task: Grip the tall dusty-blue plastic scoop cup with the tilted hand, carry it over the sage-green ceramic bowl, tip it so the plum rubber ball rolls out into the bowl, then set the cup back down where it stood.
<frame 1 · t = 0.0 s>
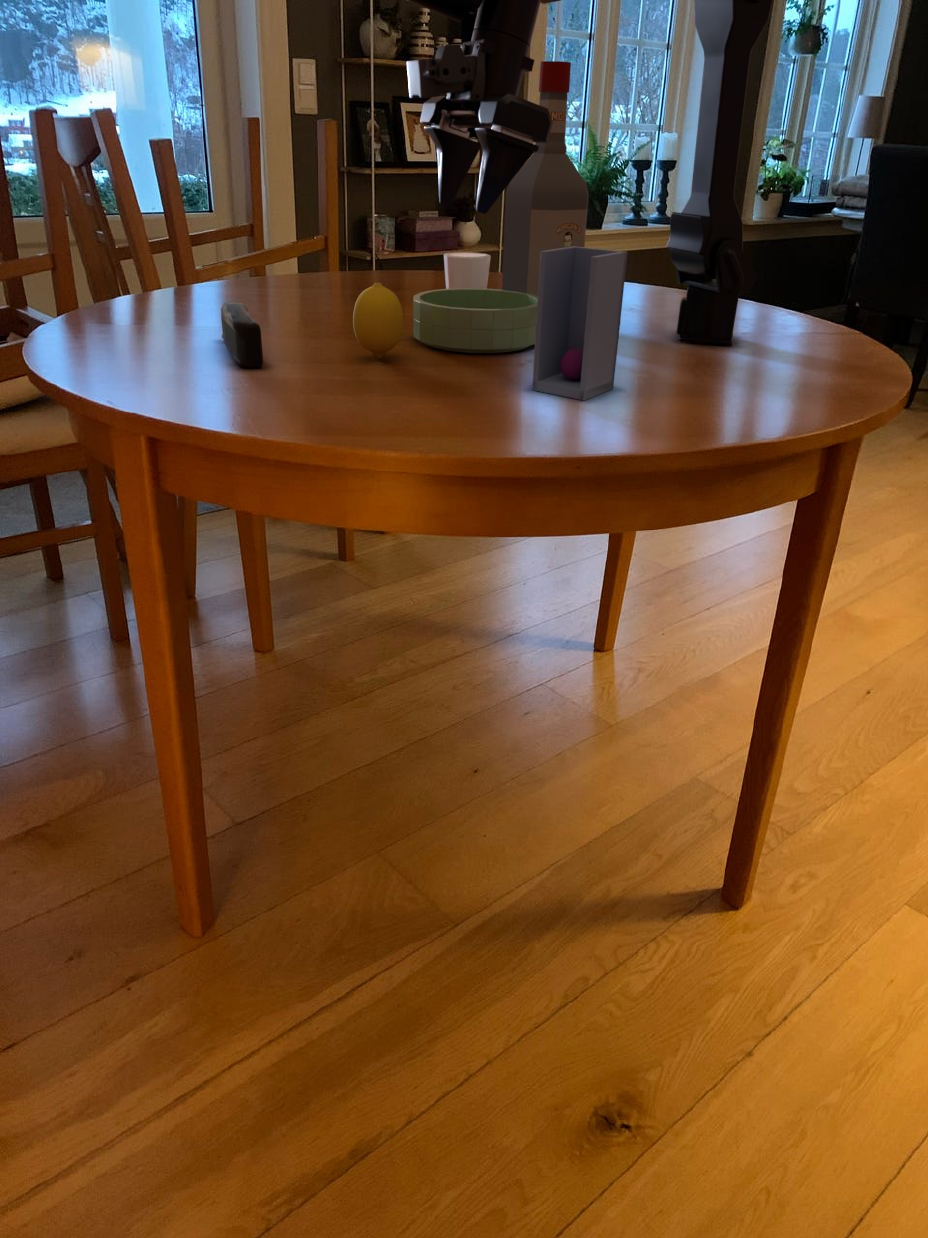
hand: (461, 208, 94), 15 cm above the table, tool pointing down, fingers open, 9 cm apart
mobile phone: (241, 355, 101), on the table
liquor: (539, 325, 121), on the table
bowl: (477, 341, 110), on the table
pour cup: (572, 389, 90), on the table, touching ball
lemon: (379, 359, 101), on the table
white cup: (465, 306, 132), on the table
ball: (575, 364, 89), point 2 cm above the table, touching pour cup
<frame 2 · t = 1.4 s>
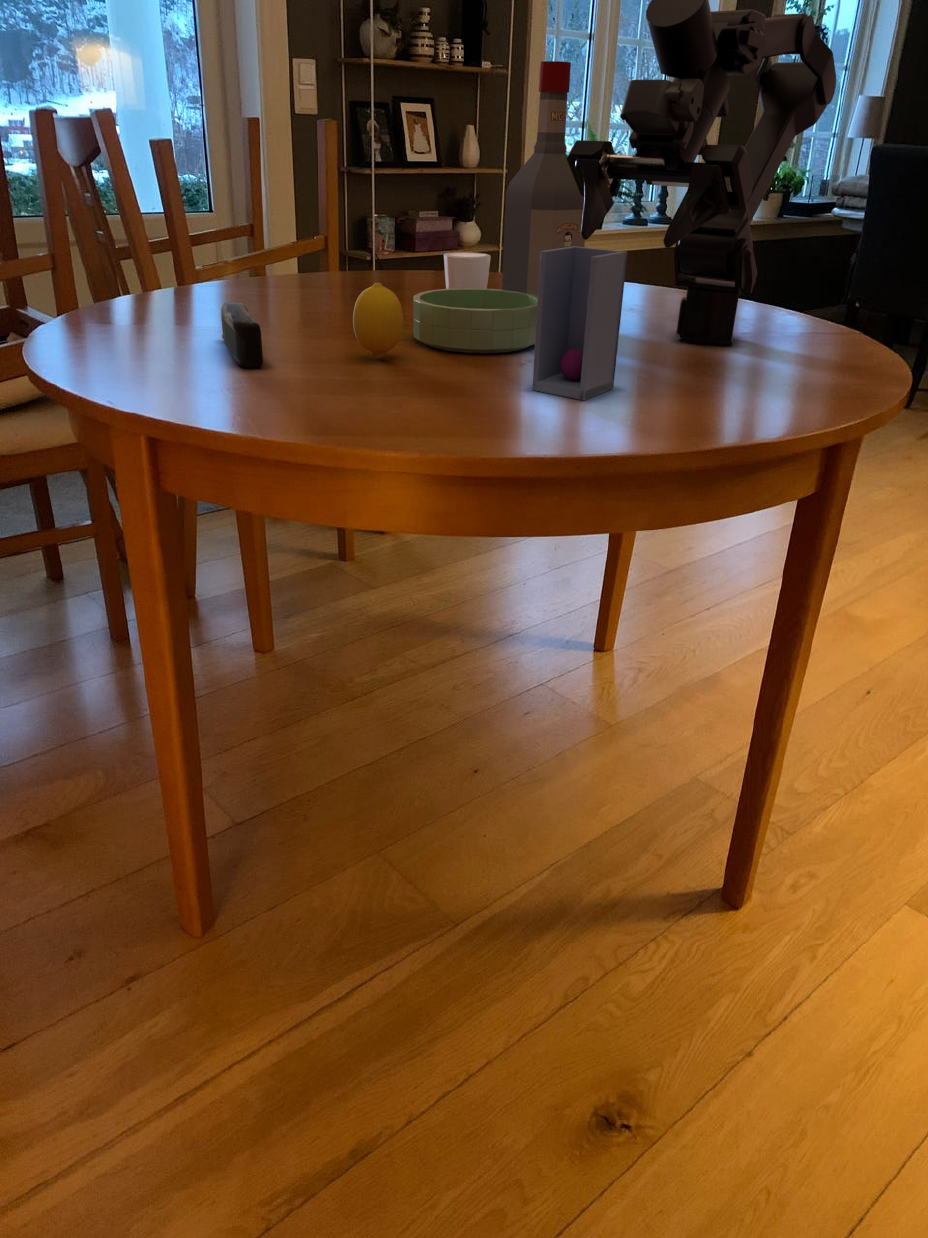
hand: (623, 240, 90), 13 cm above the table, tool tilted 45°, fingers open, 9 cm apart
nothing on the table moved.
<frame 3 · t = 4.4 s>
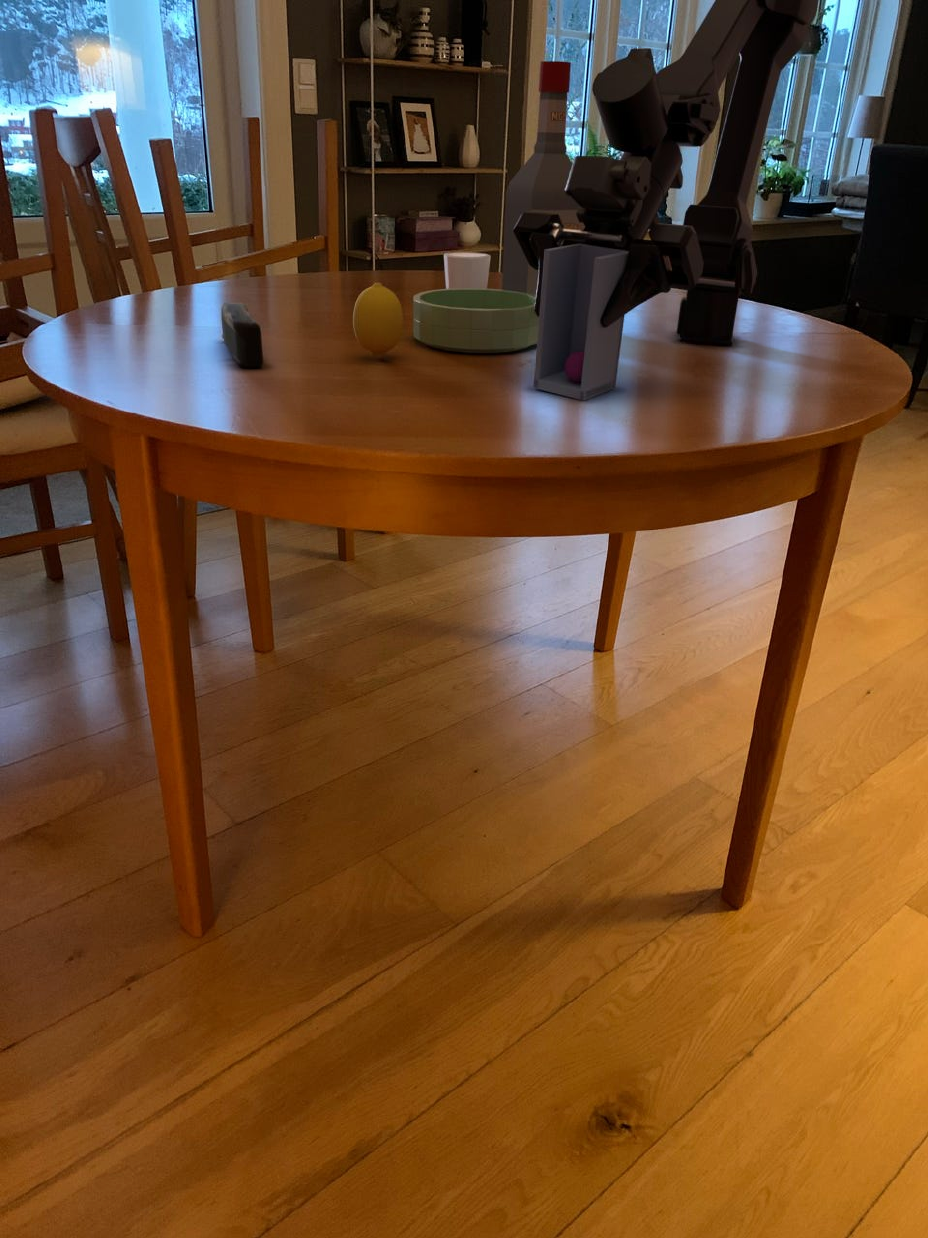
hand: (569, 319, 86), 7 cm above the table, tool tilted 45°, fingers closed on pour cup, 7 cm apart
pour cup: (574, 388, 90), on the table, touching ball, gripper
ball: (580, 366, 88), point 3 cm above the table, tilted 51°, touching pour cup
everything else where it was.
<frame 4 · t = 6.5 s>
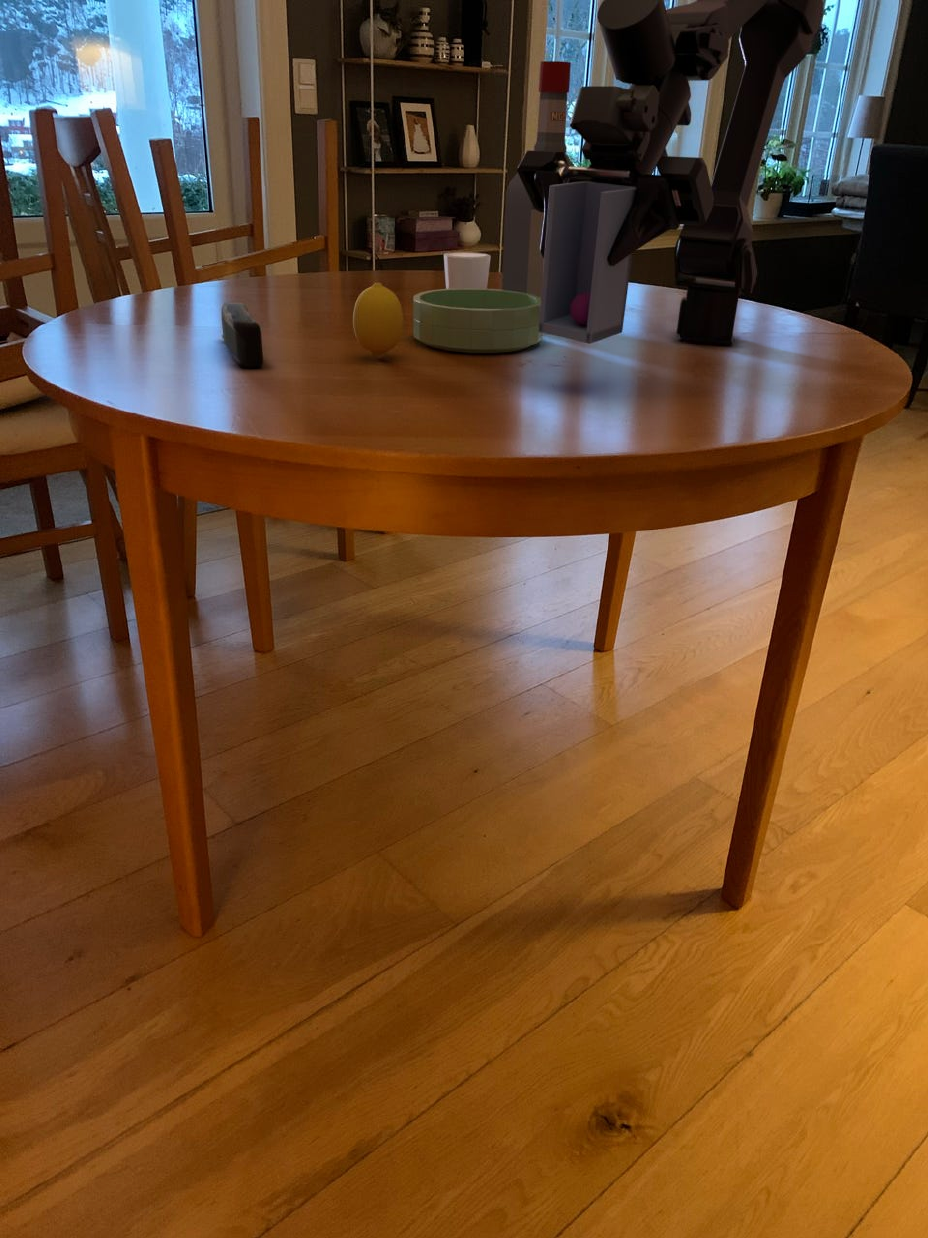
hand: (575, 258, 83), 12 cm above the table, tool tilted 45°, fingers closed on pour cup, 7 cm apart
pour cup: (580, 332, 88), point 6 cm above the table, touching ball, gripper
ball: (586, 309, 86), point 8 cm above the table, tilted 52°, touching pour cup
everything else where it was.
when the fingers open (7 cm above the table, at t = 20.4 s): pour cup stays where it is, on the table.
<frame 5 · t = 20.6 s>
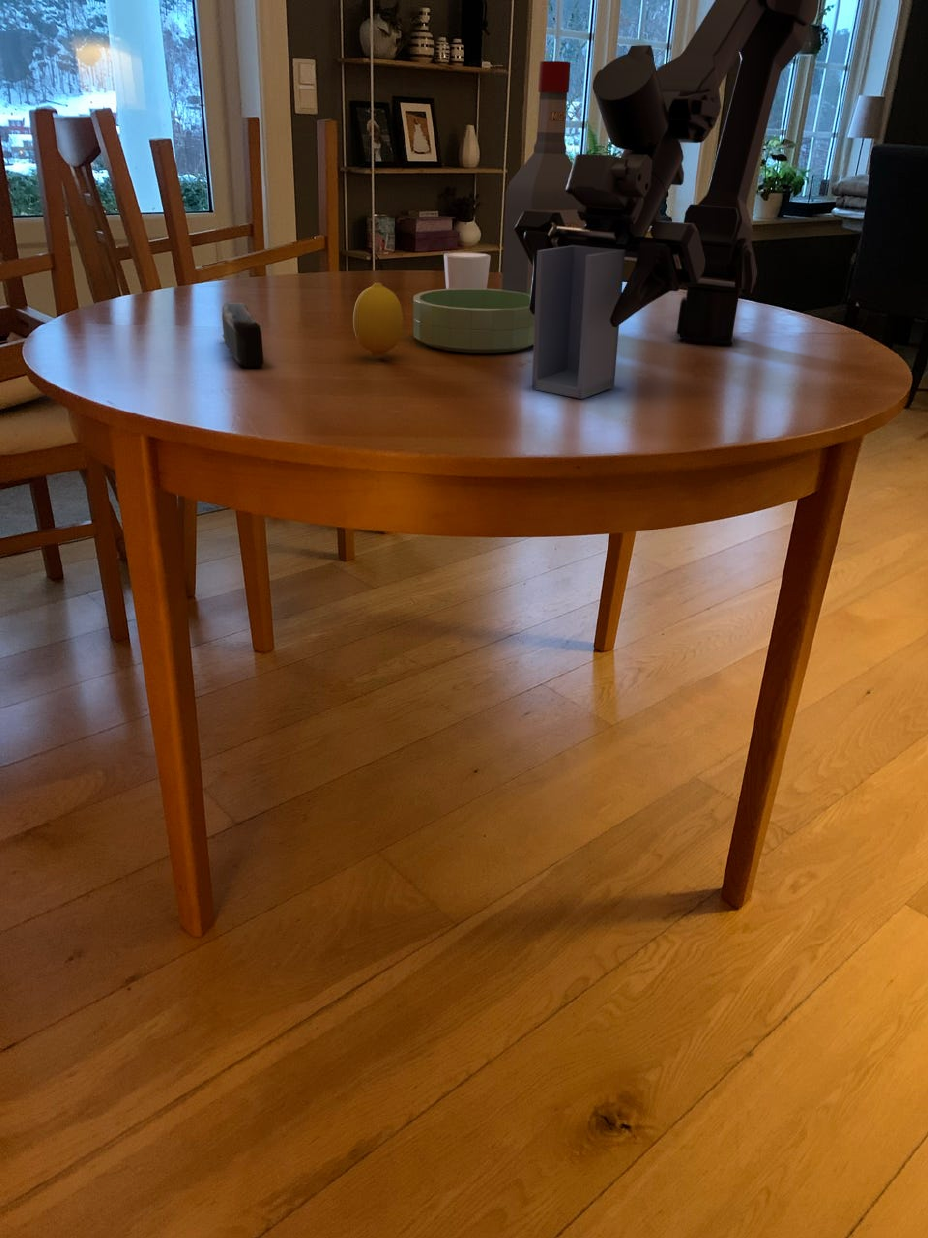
hand: (571, 317, 86), 7 cm above the table, tool tilted 45°, fingers open, 9 cm apart
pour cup: (573, 387, 91), on the table, touching gripper
ball: (504, 328, 106), point 2 cm above the table, tilted 53°, touching bowl
everything else where it was.
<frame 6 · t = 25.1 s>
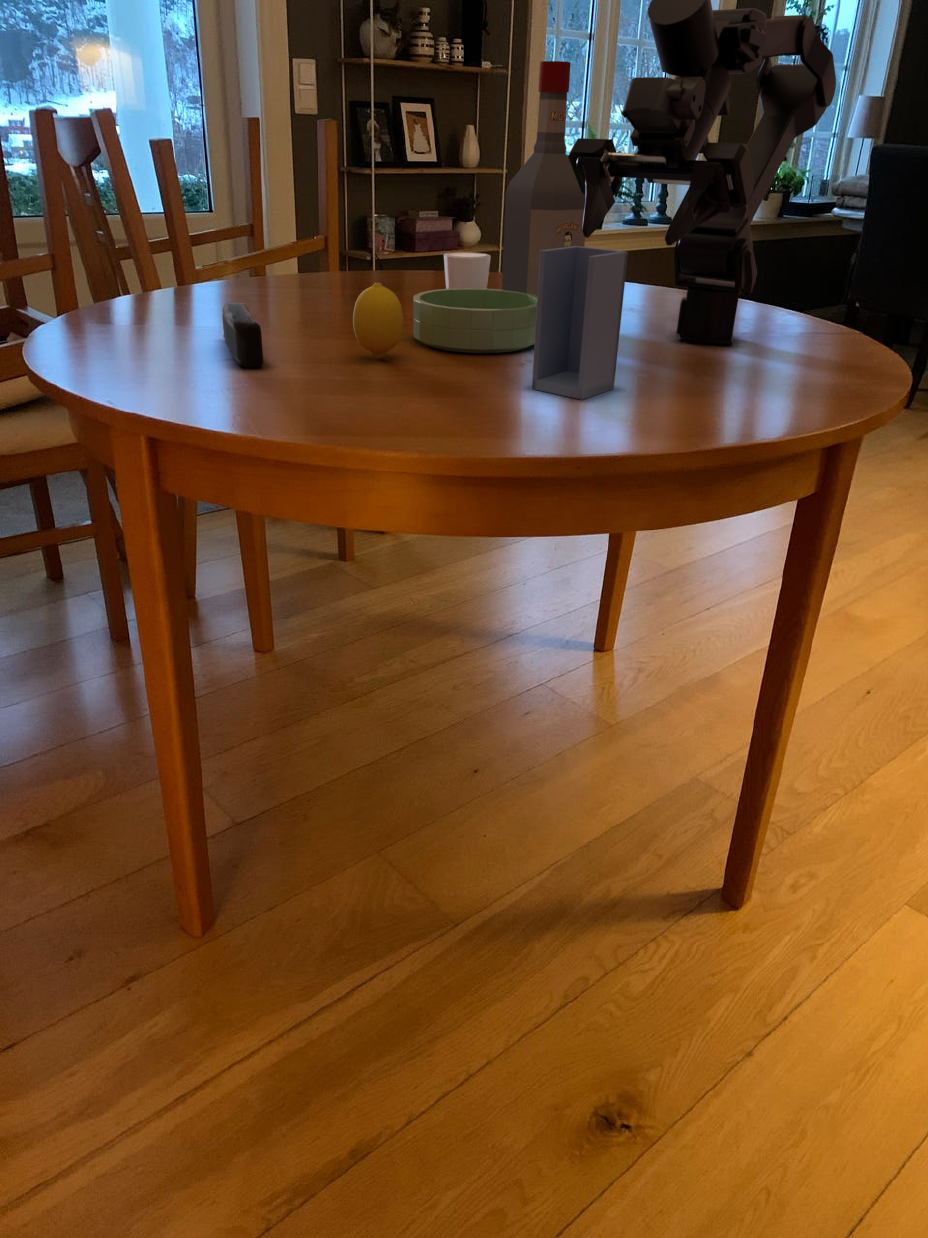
hand: (625, 238, 90), 14 cm above the table, tool tilted 45°, fingers open, 9 cm apart
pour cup: (572, 388, 91), on the table
everything else where it was.
at the end: ball inside the target area in the bowl (4.2 cm from its centre), point 2.1 cm above the bowl's base; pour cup tilted 0°; the gripper is holding nothing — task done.
